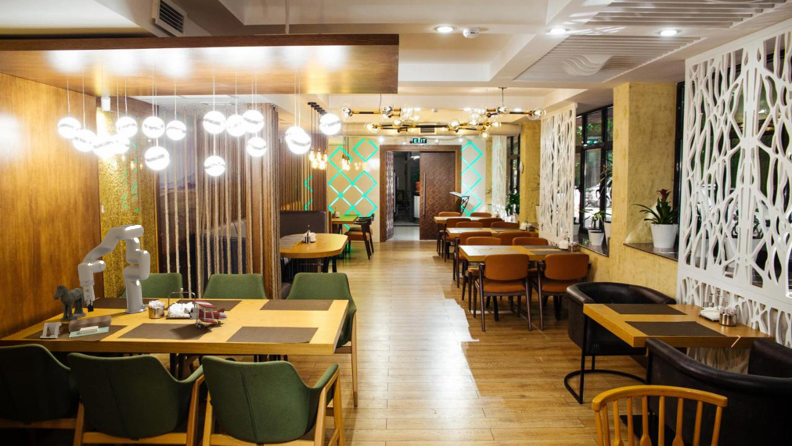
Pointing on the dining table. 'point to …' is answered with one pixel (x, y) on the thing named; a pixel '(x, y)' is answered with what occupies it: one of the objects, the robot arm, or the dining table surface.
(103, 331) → the mat
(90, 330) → the cream rectangular block
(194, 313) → the toy airplane
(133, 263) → the robot arm
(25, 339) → the dining table surface
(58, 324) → the portable electronic device stand
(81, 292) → the statue
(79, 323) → the deck
